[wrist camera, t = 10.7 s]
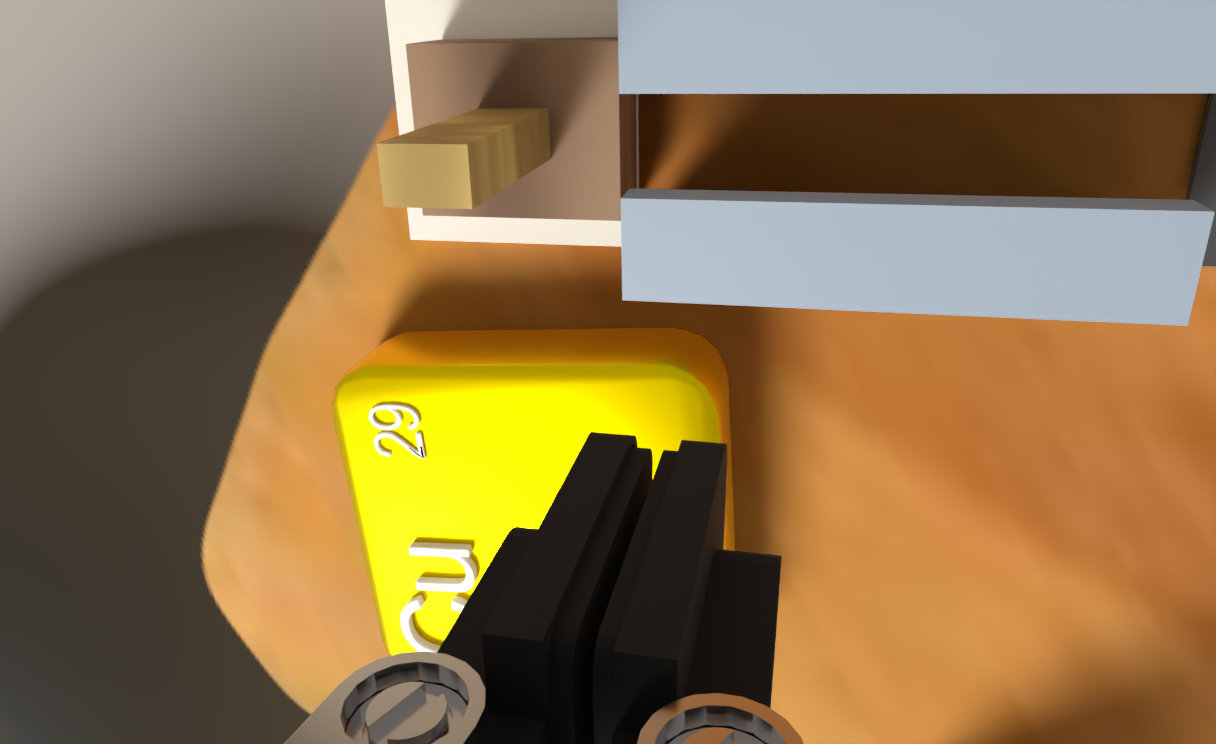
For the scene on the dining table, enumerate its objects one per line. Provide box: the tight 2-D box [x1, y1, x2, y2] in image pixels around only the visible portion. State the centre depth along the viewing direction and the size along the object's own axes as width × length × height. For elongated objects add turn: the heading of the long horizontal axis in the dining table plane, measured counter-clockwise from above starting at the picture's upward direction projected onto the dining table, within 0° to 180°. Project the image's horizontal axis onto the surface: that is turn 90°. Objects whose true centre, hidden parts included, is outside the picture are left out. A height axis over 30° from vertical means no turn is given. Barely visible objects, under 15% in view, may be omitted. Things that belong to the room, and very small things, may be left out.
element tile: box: [332, 328, 735, 656], centre depth 37 cm, size 15×15×5 cm
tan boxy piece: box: [377, 37, 637, 221], centre depth 28 cm, size 7×6×11 cm
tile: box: [385, 0, 639, 247], centre depth 33 cm, size 9×9×1 cm
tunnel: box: [618, 0, 1216, 326], centre depth 28 cm, size 16×9×6 cm, turn 92°
